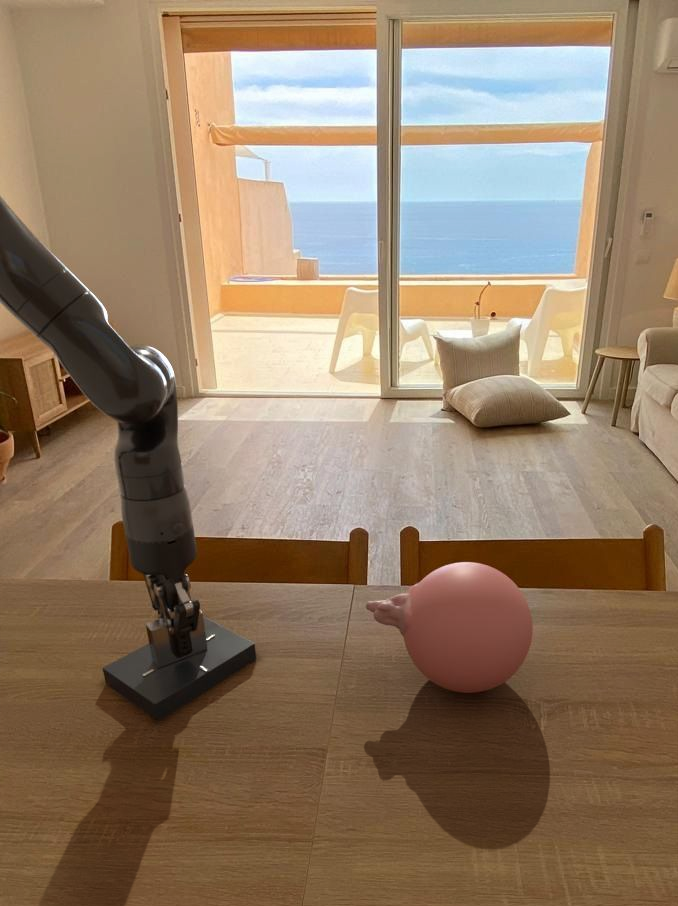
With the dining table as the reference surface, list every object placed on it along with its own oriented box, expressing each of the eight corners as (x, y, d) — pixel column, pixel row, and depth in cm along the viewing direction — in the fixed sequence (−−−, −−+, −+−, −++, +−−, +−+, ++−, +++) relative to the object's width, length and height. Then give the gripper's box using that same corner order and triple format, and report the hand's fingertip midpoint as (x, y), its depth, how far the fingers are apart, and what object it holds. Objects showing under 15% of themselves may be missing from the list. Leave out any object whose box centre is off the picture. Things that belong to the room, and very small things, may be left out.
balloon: (382, 632, 96) (381, 532, 89) (530, 650, 91) (539, 546, 85) (352, 704, 82) (347, 592, 76) (524, 730, 78) (534, 613, 71)
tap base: (158, 721, 80) (154, 703, 79) (105, 684, 86) (101, 666, 85) (256, 659, 90) (254, 642, 89) (203, 630, 97) (201, 614, 96)
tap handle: (158, 668, 85) (150, 629, 82) (152, 660, 86) (145, 621, 84) (207, 649, 88) (202, 610, 86) (201, 642, 90) (195, 604, 87)
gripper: (107, 513, 83) (131, 634, 90) (147, 557, 73) (170, 689, 80) (168, 498, 87) (186, 615, 94) (214, 537, 77) (230, 665, 84)
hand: (179, 649), depth 87 cm, fingers closed on tap handle, 2 cm apart
